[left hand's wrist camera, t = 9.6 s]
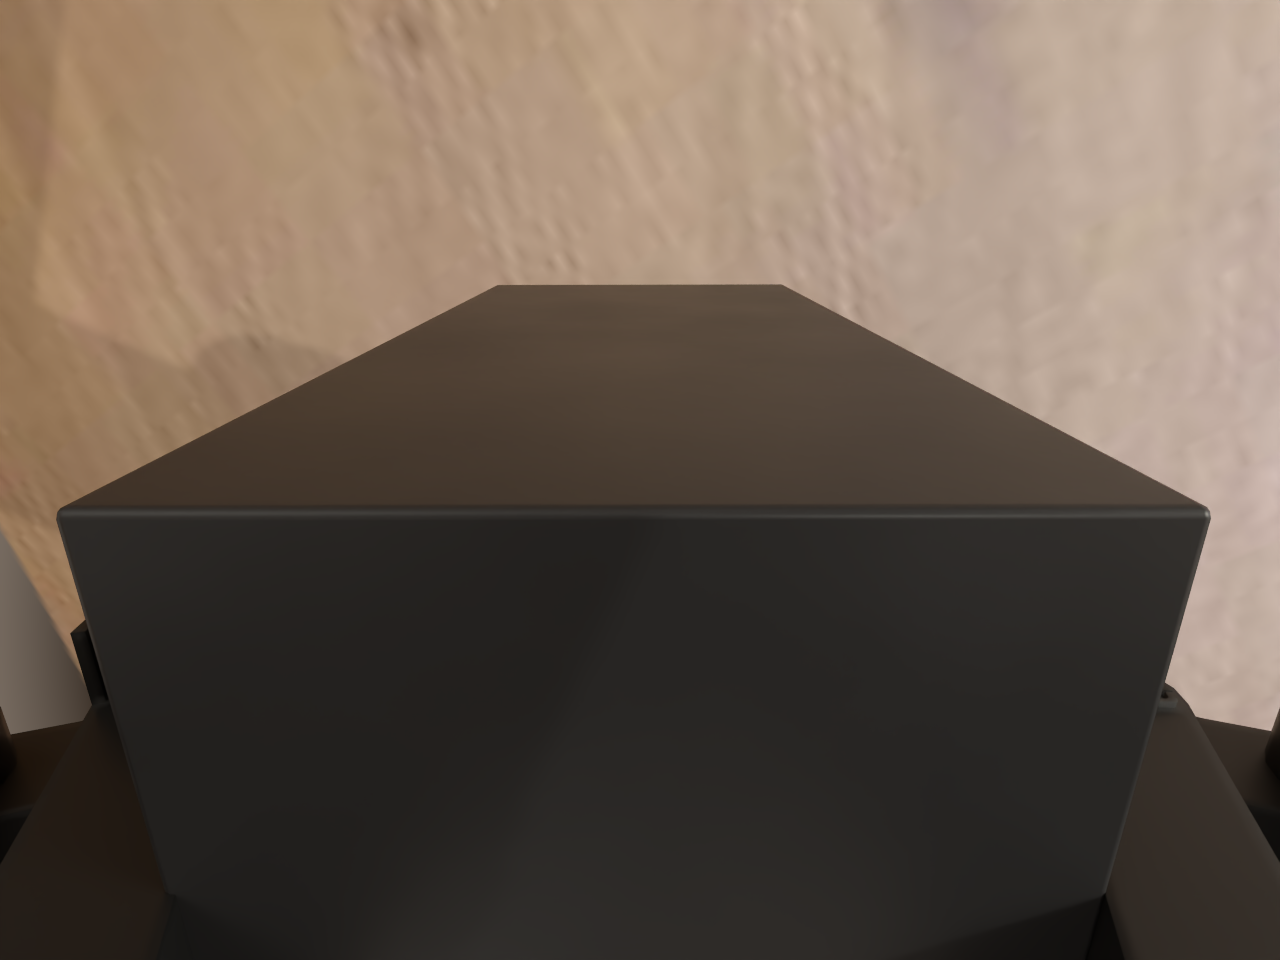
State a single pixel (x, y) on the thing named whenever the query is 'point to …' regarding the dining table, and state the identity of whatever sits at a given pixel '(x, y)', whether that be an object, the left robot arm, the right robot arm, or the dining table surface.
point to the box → (635, 646)
